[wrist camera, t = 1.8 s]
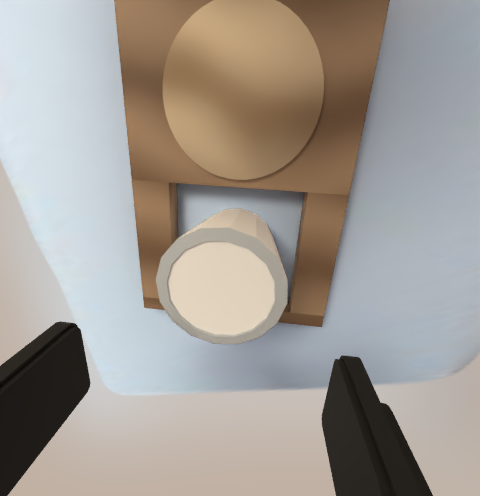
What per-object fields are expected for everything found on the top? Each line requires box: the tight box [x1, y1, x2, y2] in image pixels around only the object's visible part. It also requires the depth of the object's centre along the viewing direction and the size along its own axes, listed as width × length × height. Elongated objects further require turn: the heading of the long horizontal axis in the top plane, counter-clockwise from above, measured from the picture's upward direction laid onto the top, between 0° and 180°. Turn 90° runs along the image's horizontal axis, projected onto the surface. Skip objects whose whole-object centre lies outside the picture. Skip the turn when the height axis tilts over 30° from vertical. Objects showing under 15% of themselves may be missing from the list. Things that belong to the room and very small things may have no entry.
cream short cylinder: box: [156, 209, 288, 344], centre depth 16 cm, size 7×7×7 cm
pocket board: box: [114, 0, 390, 327], centre depth 17 cm, size 20×14×2 cm
